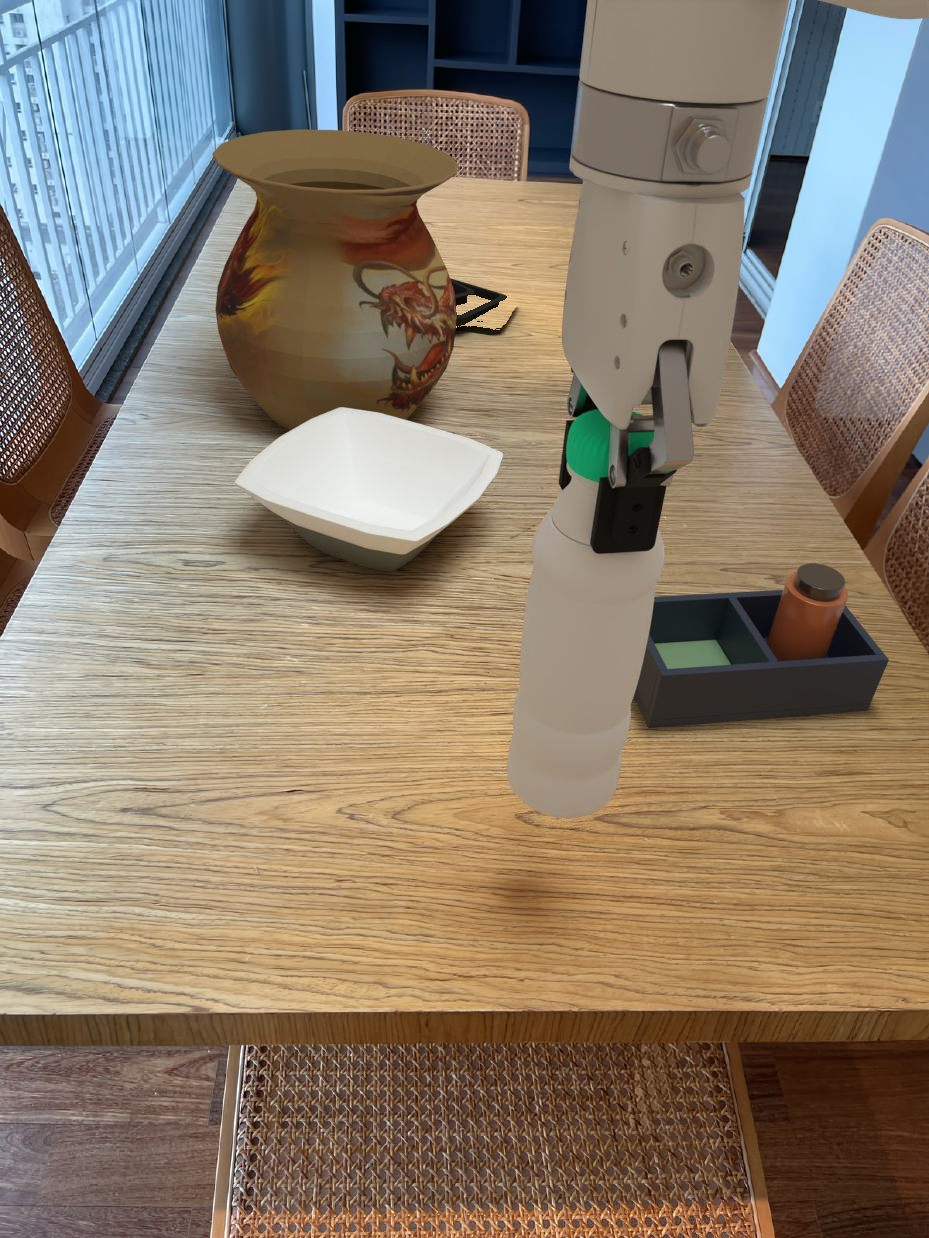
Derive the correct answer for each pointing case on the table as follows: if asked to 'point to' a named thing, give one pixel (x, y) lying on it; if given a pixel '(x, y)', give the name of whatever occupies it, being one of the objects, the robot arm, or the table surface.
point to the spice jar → (808, 613)
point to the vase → (335, 274)
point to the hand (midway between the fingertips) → (604, 514)
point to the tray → (461, 298)
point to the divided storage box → (746, 664)
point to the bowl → (369, 484)
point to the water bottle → (579, 643)
